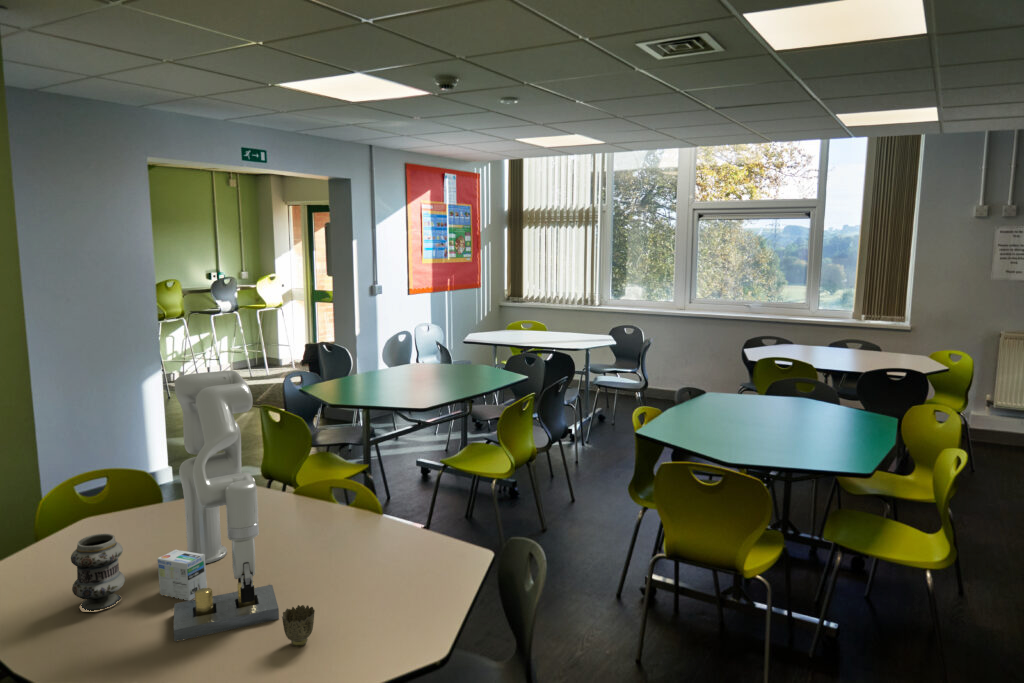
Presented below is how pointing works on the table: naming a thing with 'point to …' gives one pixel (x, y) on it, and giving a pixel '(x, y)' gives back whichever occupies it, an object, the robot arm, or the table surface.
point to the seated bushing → (204, 602)
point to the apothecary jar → (97, 571)
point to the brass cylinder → (240, 598)
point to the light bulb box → (181, 574)
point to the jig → (224, 614)
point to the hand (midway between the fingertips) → (246, 593)
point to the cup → (298, 624)
